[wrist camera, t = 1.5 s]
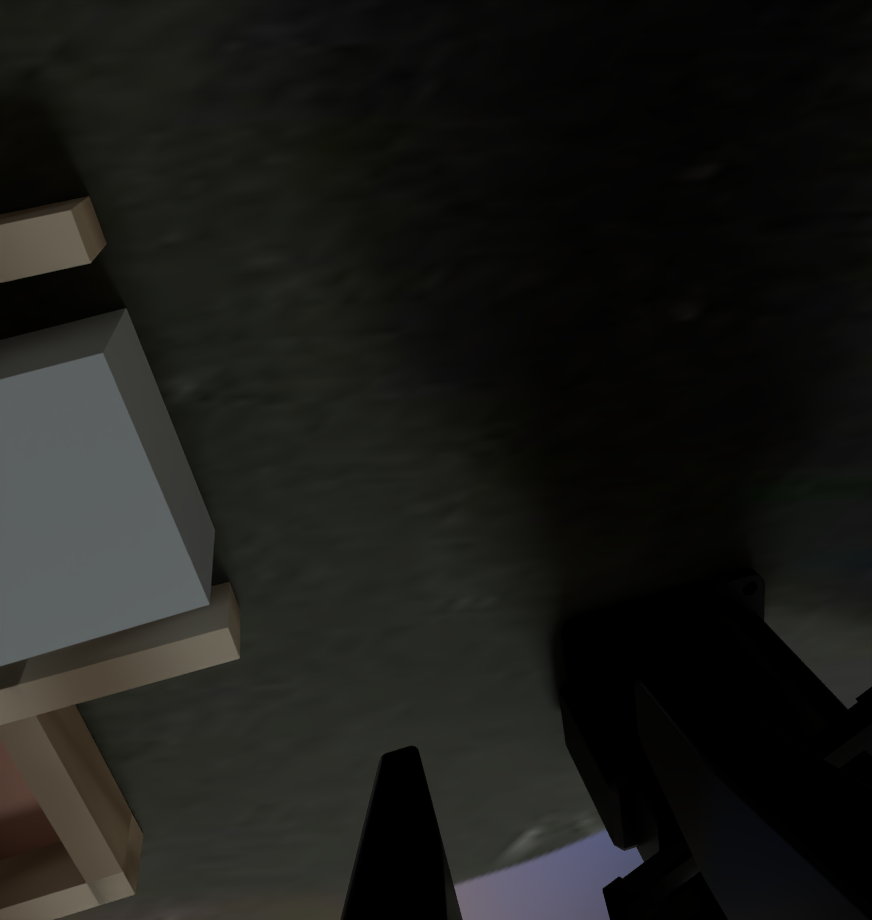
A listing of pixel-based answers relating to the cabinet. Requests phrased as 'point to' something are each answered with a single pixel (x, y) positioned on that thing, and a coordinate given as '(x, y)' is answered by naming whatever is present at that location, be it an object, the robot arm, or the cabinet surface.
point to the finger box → (79, 683)
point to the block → (91, 492)
